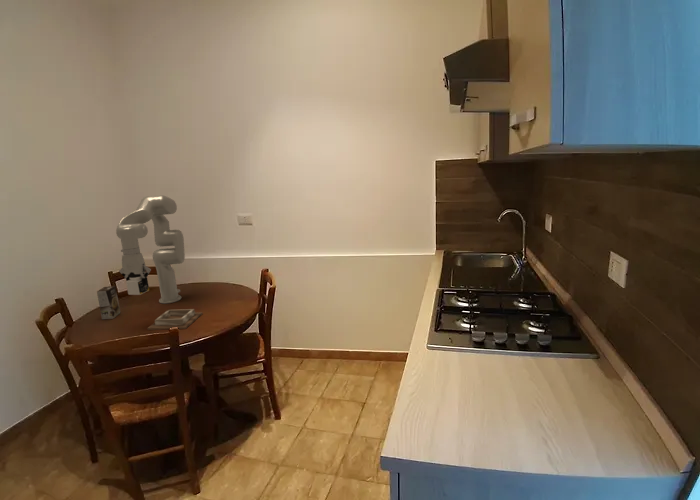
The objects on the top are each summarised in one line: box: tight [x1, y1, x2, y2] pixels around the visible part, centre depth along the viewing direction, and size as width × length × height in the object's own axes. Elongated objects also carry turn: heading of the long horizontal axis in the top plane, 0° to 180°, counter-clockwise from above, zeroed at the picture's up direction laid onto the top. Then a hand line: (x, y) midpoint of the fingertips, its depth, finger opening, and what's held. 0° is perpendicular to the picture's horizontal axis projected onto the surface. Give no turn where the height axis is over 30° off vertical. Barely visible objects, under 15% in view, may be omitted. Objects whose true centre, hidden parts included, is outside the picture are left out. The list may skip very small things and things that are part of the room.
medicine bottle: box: [125, 272, 150, 296], centre depth 219 cm, size 7×7×12 cm
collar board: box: [147, 308, 203, 331], centre depth 226 cm, size 20×20×4 cm
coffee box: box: [96, 285, 121, 320], centre depth 239 cm, size 9×6×16 cm
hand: (137, 285), depth 220 cm, fingers closed on medicine bottle, 7 cm apart
